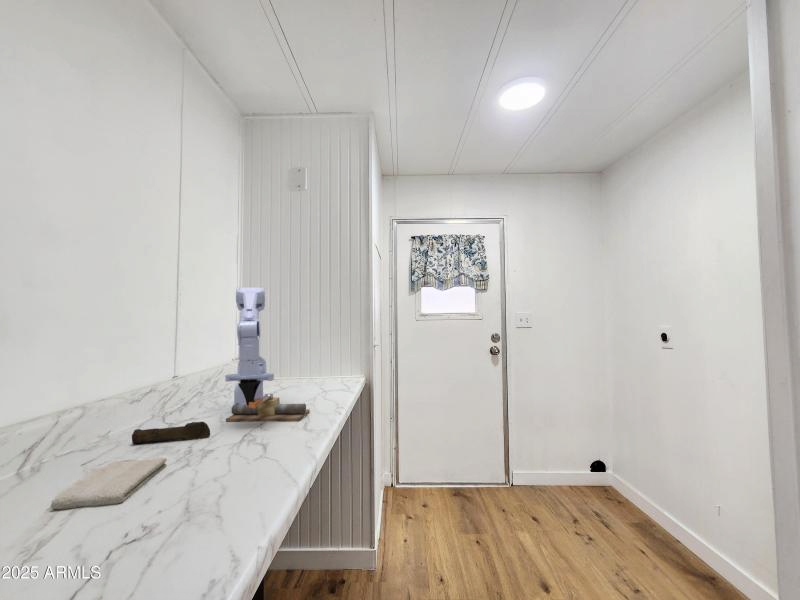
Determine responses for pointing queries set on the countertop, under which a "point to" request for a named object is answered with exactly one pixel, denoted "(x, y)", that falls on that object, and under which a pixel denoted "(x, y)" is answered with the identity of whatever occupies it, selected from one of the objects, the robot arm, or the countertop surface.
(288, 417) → the valve board
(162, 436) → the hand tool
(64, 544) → the countertop surface
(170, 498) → the countertop surface
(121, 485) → the washcloth
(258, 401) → the valve lever
